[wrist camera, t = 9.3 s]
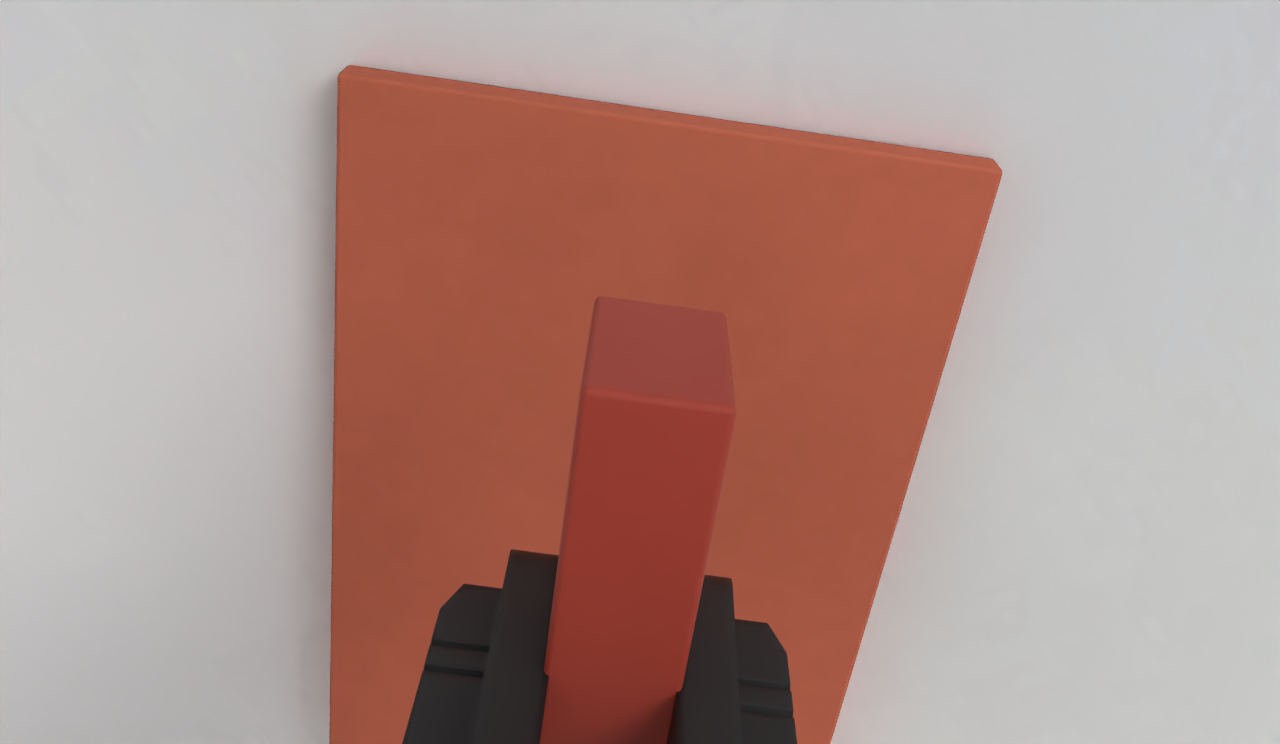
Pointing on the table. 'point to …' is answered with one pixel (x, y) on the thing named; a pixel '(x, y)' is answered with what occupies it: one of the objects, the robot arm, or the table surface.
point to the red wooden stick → (637, 520)
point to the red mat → (558, 337)
